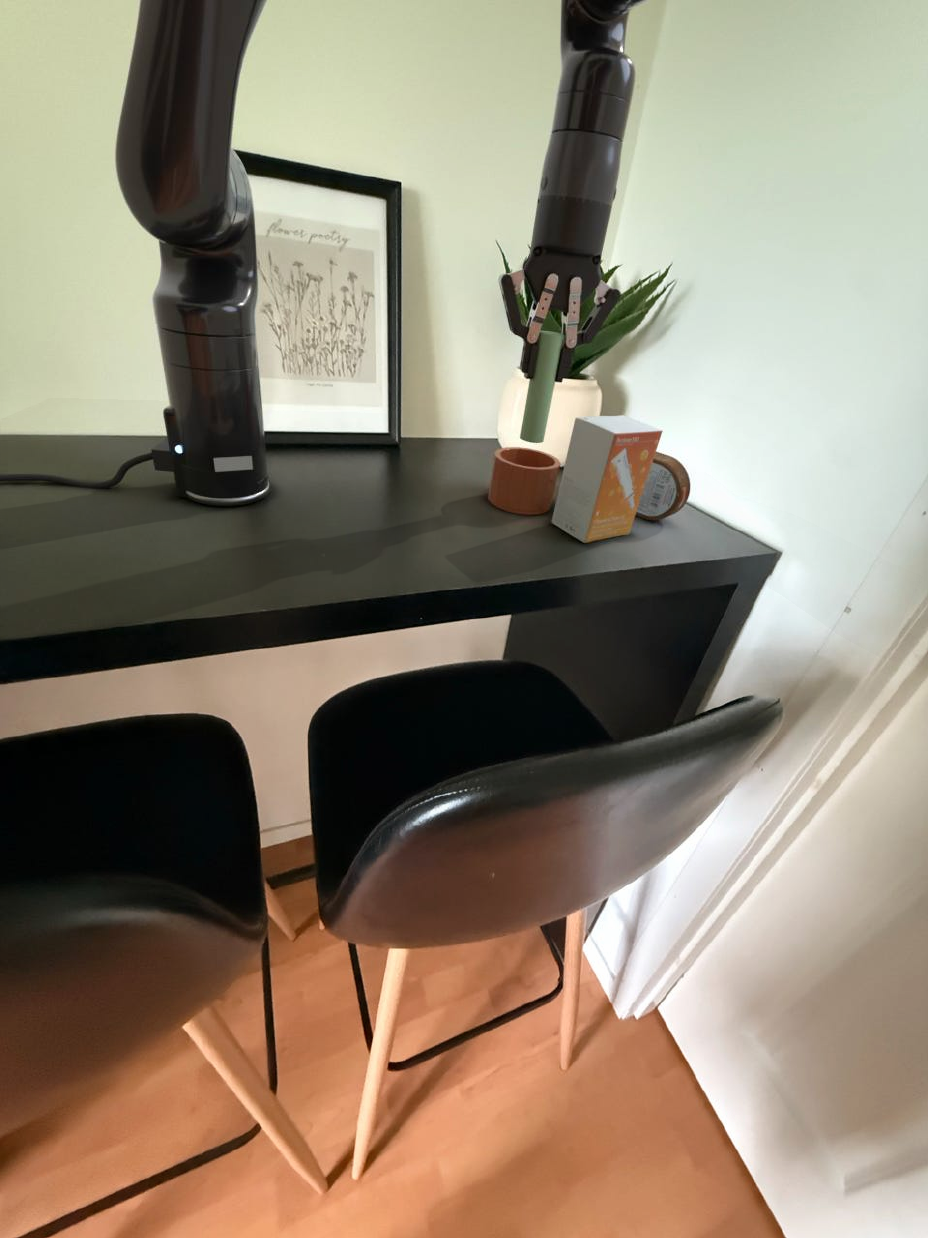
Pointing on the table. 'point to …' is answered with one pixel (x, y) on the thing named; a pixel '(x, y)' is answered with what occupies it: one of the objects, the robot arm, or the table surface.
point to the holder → (523, 480)
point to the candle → (541, 387)
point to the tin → (664, 488)
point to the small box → (604, 476)
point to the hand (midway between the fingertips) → (542, 378)
